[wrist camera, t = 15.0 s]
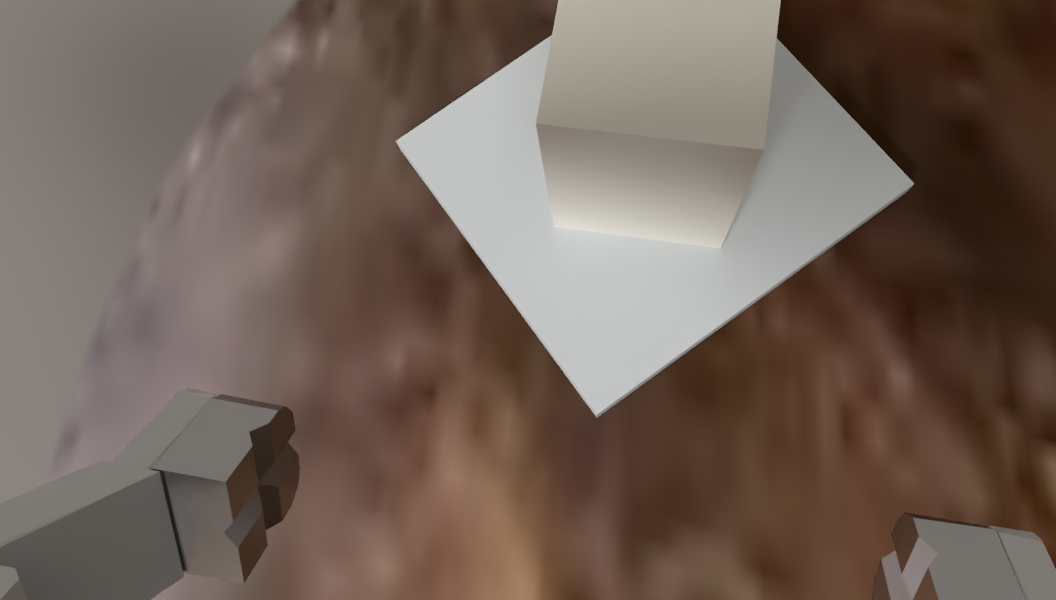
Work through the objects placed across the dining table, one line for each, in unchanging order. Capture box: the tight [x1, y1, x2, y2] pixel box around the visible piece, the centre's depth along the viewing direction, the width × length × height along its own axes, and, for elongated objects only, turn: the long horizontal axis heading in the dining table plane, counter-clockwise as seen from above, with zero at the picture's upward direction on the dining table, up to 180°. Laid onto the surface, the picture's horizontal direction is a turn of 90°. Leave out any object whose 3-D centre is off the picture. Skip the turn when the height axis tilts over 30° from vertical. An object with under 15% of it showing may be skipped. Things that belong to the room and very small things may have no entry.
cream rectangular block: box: [536, 0, 781, 249], centre depth 24 cm, size 6×6×8 cm
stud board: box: [396, 35, 914, 417], centre depth 26 cm, size 13×12×6 cm
